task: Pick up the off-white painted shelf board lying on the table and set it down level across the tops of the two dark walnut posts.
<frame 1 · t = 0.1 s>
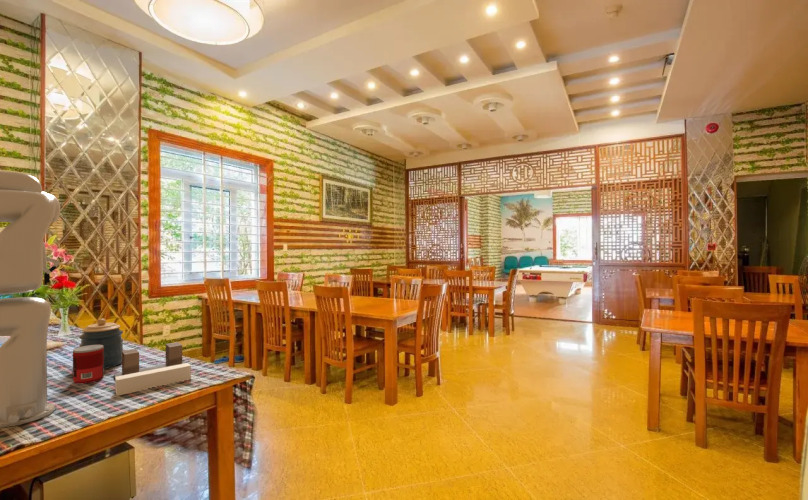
hand: (26, 285, 131), 31 cm above the table, tool pointing down, fingers open, 9 cm apart
post stand: (153, 373, 132), on the table
canned food: (88, 380, 126), on the table
canister: (102, 365, 141), on the table
shelf board: (154, 386, 121), on the table
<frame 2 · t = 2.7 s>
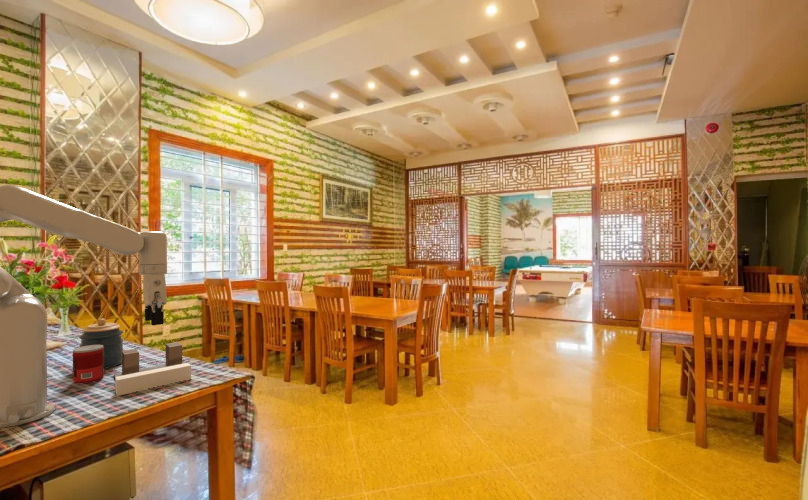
hand: (154, 322, 121), 20 cm above the table, tool pointing down, fingers open, 9 cm apart
nothing on the table moved.
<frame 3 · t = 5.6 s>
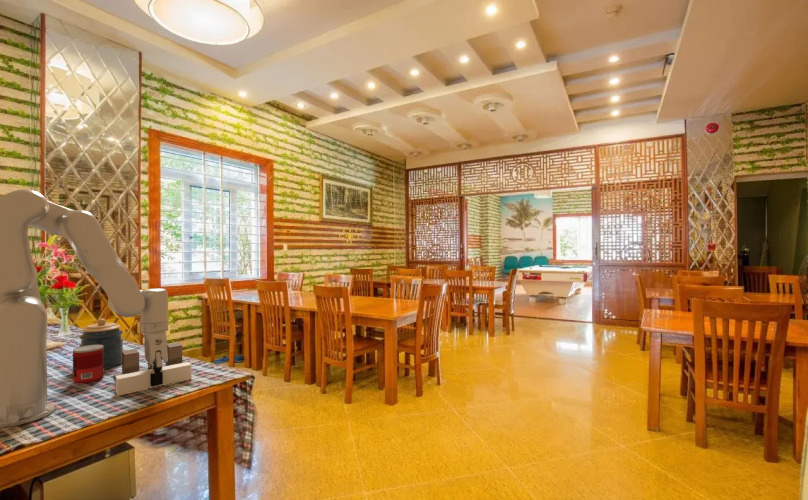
hand: (155, 382, 121), 1 cm above the table, tool pointing down, fingers closed on shelf board, 4 cm apart
shelf board: (155, 385, 121), on the table, touching gripper
everything else where it was.
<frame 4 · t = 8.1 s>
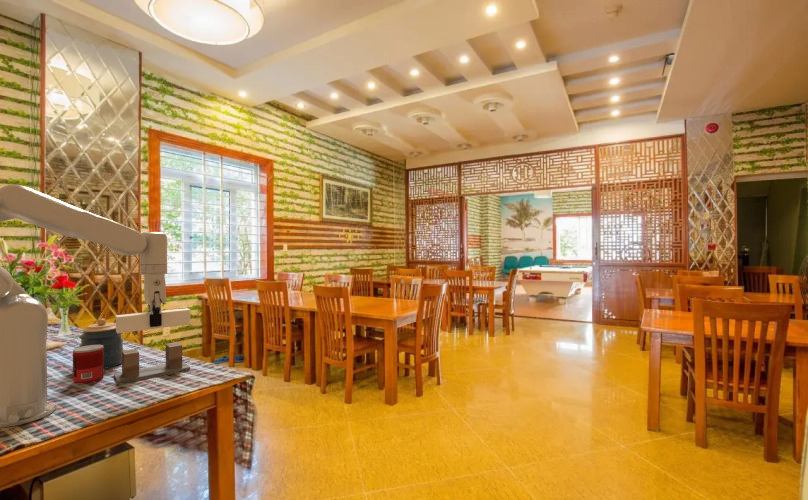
hand: (154, 324, 123), 19 cm above the table, tool pointing down, fingers closed on shelf board, 4 cm apart
shelf board: (154, 327, 123), point 18 cm above the table, touching gripper
everything else where it was.
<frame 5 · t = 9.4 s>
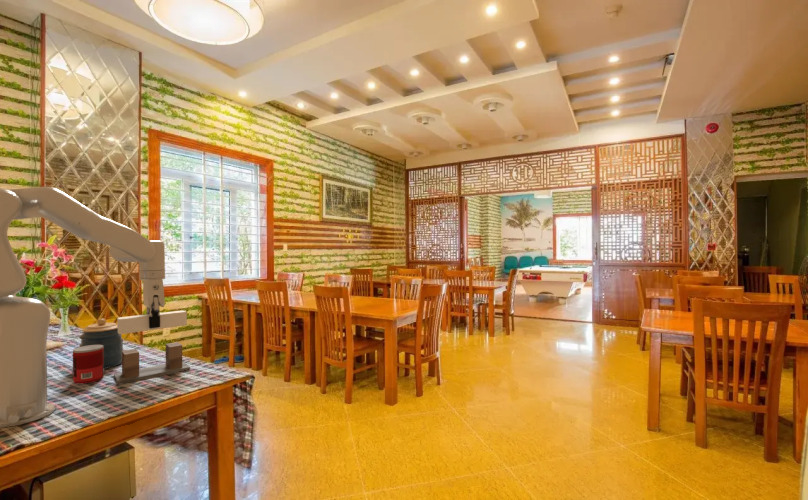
hand: (153, 326, 132), 17 cm above the table, tool pointing down, fingers closed on shelf board, 4 cm apart
shelf board: (153, 328, 132), point 16 cm above the table, touching gripper
everything else where it was.
when the fingers open (11 cm above the table, at t = 10.6 s): shelf board drops 1 cm, resting on post stand.
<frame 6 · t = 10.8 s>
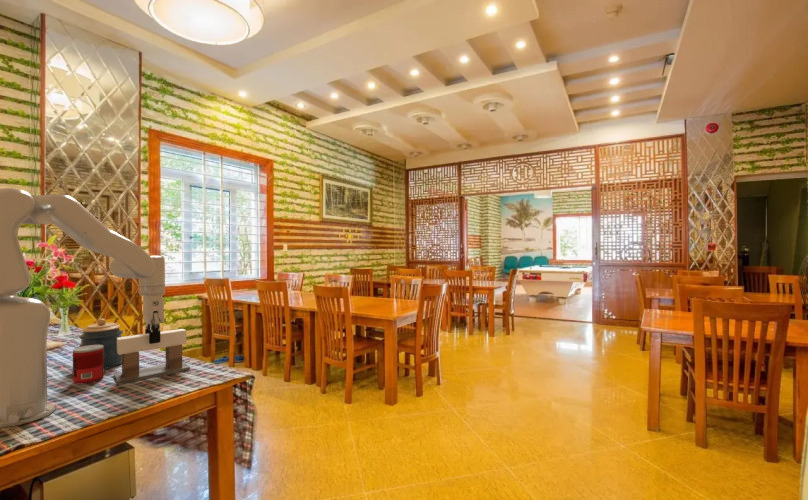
hand: (152, 340, 132), 12 cm above the table, tool pointing down, fingers open, 6 cm apart
shelf board: (153, 347, 132), point 9 cm above the table, touching post stand
everything else where it was.
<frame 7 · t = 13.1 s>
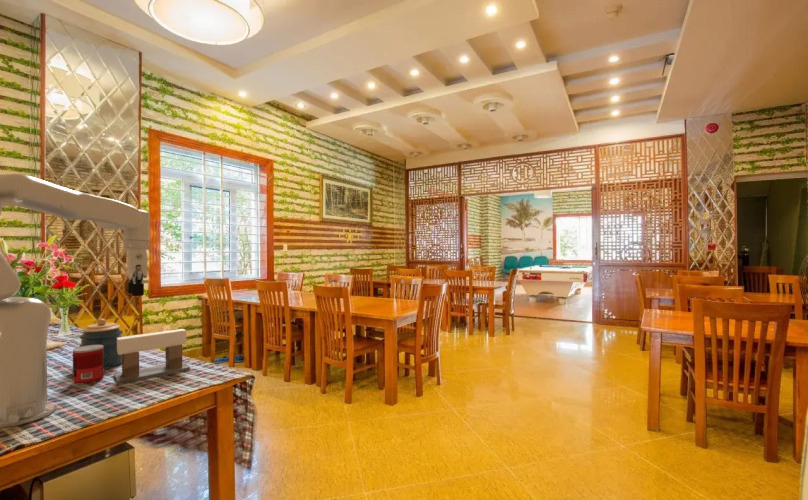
hand: (135, 294, 130), 28 cm above the table, tool pointing down, fingers open, 9 cm apart
nothing on the table moved.
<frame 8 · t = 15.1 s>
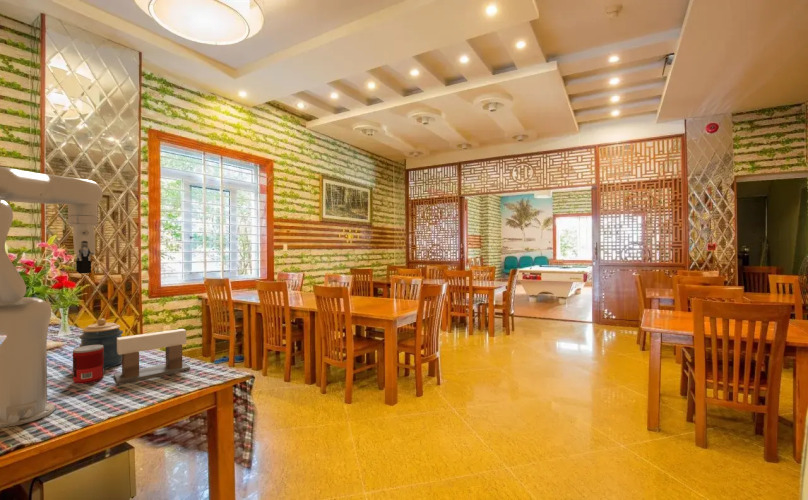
hand: (83, 272, 125), 36 cm above the table, tool pointing down, fingers open, 9 cm apart
nothing on the table moved.
at the end: shelf board inside the target area (0.0 cm from its centre), point 9.0 cm above the table; shelf board tilted 0°; the gripper is holding nothing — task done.
